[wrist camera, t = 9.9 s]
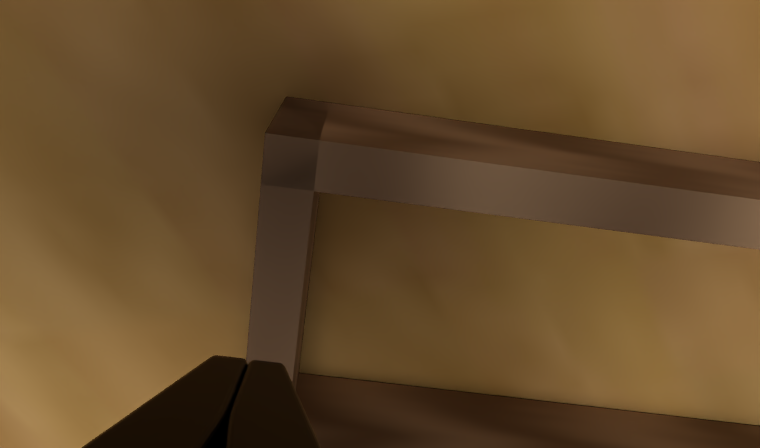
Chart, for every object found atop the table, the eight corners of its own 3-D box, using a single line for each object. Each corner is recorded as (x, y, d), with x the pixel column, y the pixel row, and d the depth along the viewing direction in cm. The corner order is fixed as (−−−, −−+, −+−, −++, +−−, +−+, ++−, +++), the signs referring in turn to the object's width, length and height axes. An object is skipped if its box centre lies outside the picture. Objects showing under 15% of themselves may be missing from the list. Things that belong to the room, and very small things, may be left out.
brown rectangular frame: (258, 400, 23) (235, 488, 19) (286, 96, 19) (265, 133, 15) (786, 459, 24) (863, 554, 20) (908, 183, 20) (1030, 236, 16)
